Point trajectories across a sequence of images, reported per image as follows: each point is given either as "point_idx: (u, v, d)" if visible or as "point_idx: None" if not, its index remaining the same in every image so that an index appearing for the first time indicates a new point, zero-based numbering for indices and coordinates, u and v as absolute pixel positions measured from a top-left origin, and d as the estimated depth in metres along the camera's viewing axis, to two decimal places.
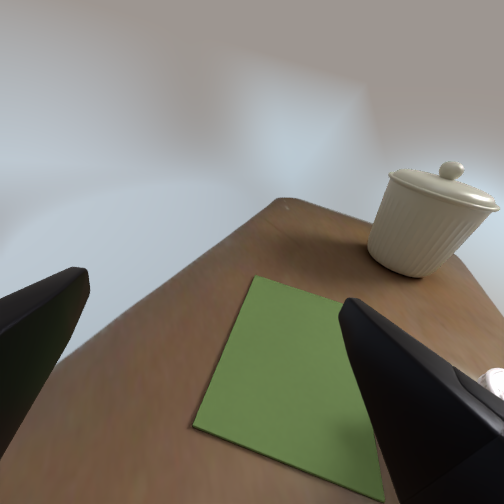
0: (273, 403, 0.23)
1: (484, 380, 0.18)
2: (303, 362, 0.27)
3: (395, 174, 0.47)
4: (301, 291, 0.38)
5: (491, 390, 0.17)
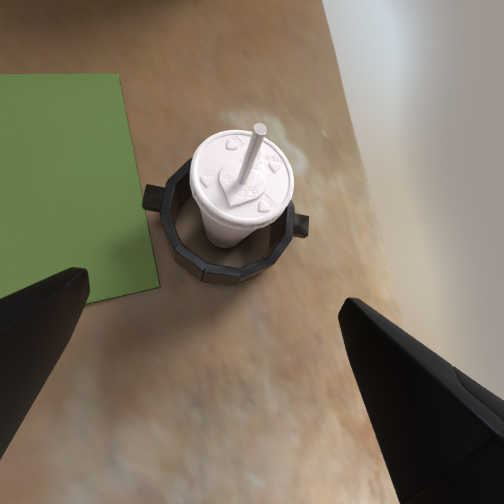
0: (26, 265, 0.20)
1: None
2: (55, 197, 0.21)
3: None
4: (26, 76, 0.23)
5: (191, 176, 0.14)
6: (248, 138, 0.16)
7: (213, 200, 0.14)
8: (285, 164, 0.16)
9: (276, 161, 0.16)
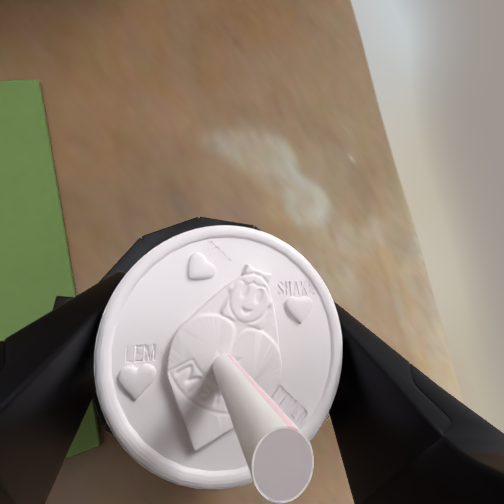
0: None
1: None
2: None
3: None
4: None
5: (96, 372, 0.06)
6: (239, 244, 0.07)
7: (152, 435, 0.06)
8: (321, 296, 0.07)
9: (303, 291, 0.07)
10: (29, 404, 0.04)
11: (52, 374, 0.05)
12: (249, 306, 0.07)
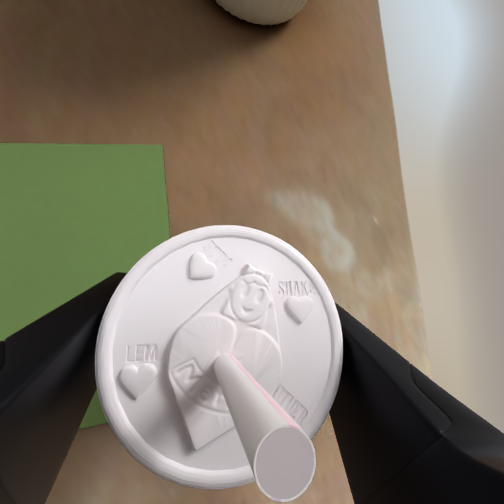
0: None
1: None
2: None
3: None
4: (65, 147, 0.21)
5: (97, 372, 0.06)
6: (240, 244, 0.07)
7: (152, 434, 0.06)
8: (321, 296, 0.07)
9: (303, 291, 0.07)
10: (29, 404, 0.04)
11: (52, 374, 0.05)
12: (250, 306, 0.07)
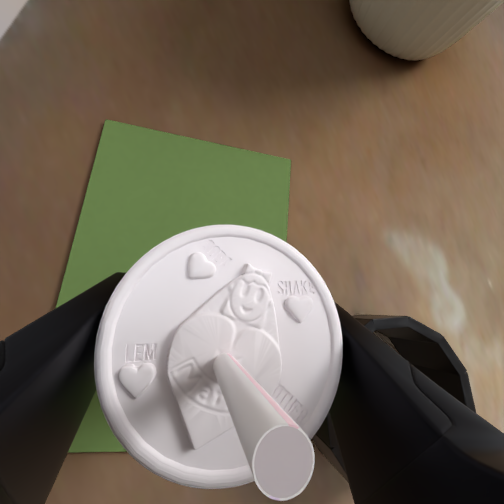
0: None
1: None
2: None
3: None
4: (201, 143, 0.21)
5: (96, 371, 0.06)
6: (240, 243, 0.07)
7: (152, 434, 0.06)
8: (321, 295, 0.07)
9: (303, 291, 0.07)
10: (29, 404, 0.04)
11: (52, 374, 0.05)
12: (250, 305, 0.07)
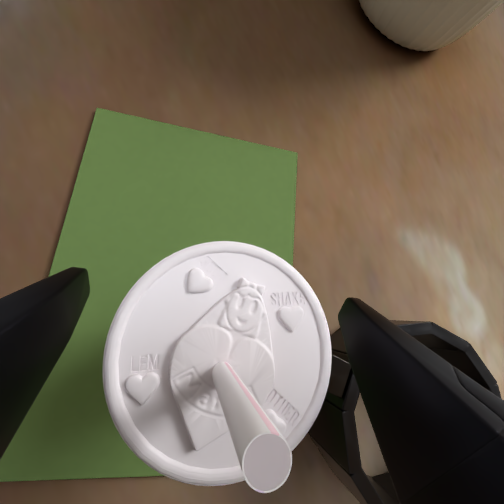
0: None
1: None
2: None
3: None
4: (201, 135, 0.19)
5: (105, 381, 0.06)
6: (235, 258, 0.08)
7: (157, 437, 0.06)
8: (311, 305, 0.08)
9: (294, 301, 0.08)
10: None
11: None
12: (245, 316, 0.07)
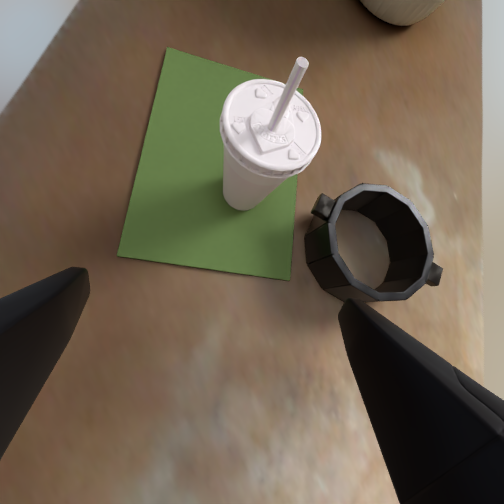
0: (197, 223, 0.23)
1: None
2: None
3: None
4: (236, 71, 0.27)
5: (223, 122, 0.15)
6: (276, 88, 0.16)
7: (245, 146, 0.15)
8: (312, 114, 0.16)
9: (304, 111, 0.16)
10: None
11: None
12: None
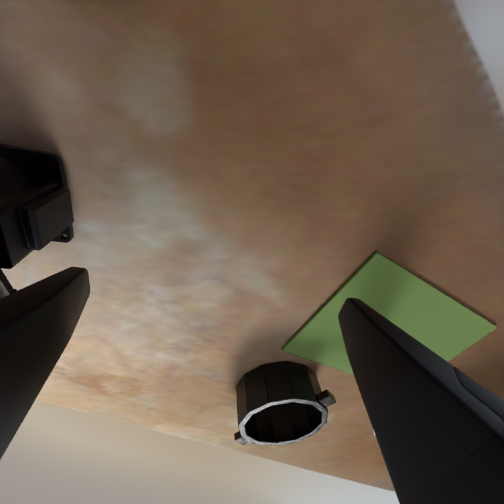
0: None
1: None
2: None
3: None
4: None
5: None
6: None
7: None
8: None
9: None
10: None
11: None
12: None
